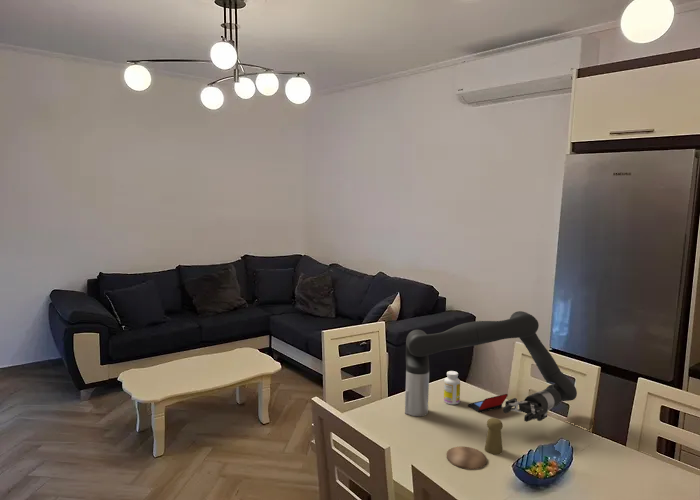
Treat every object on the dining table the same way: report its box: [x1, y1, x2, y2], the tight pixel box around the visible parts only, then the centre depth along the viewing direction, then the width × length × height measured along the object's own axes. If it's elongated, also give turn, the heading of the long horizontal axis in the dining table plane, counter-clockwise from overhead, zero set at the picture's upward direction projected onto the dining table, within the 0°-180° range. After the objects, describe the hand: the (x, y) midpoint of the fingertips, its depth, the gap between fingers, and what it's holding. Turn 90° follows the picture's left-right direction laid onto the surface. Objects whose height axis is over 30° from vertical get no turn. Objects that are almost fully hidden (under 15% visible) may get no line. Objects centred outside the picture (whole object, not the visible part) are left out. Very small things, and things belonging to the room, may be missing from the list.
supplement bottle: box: [443, 370, 461, 405], centre depth 210 cm, size 7×7×13 cm
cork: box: [484, 417, 504, 456], centre depth 170 cm, size 6×6×11 cm
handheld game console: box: [467, 393, 508, 414], centre depth 204 cm, size 12×11×7 cm
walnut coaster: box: [446, 446, 487, 470], centre depth 165 cm, size 13×13×1 cm
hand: (514, 414), depth 176 cm, fingers open, 8 cm apart
